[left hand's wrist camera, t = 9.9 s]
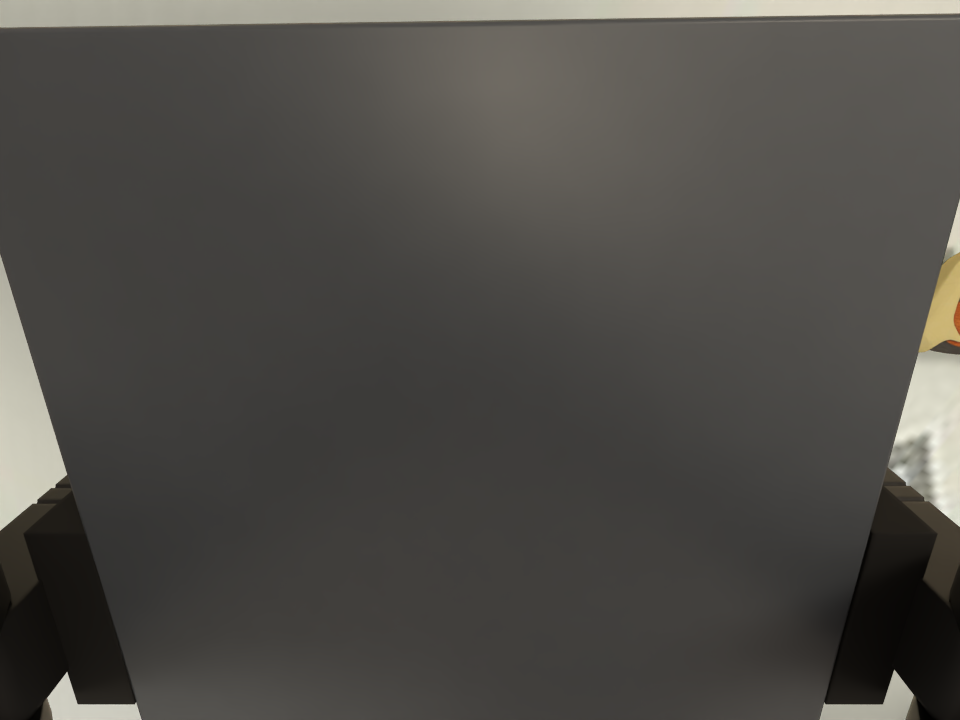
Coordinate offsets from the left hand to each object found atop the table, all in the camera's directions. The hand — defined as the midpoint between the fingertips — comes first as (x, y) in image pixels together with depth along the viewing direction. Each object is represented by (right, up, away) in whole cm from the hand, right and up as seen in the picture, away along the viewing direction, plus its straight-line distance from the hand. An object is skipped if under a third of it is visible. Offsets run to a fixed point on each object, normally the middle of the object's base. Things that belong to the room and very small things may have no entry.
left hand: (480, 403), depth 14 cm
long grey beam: (0, -23, +10) cm, 25 cm away
